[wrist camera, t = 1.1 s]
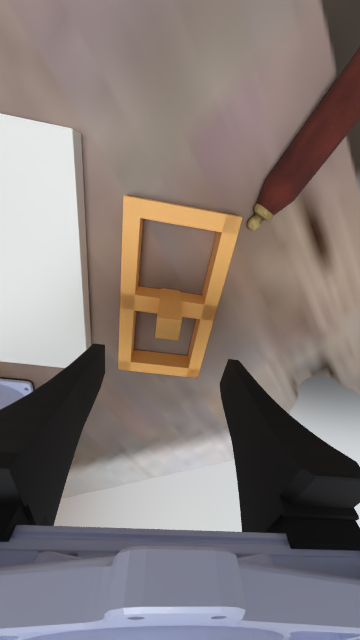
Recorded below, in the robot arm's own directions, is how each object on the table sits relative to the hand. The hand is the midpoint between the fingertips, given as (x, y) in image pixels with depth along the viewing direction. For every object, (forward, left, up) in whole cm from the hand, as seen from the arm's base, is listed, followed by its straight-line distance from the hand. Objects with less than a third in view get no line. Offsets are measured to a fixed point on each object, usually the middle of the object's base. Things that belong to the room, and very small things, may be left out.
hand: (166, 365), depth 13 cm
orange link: (0, 0, -9) cm, 9 cm away
